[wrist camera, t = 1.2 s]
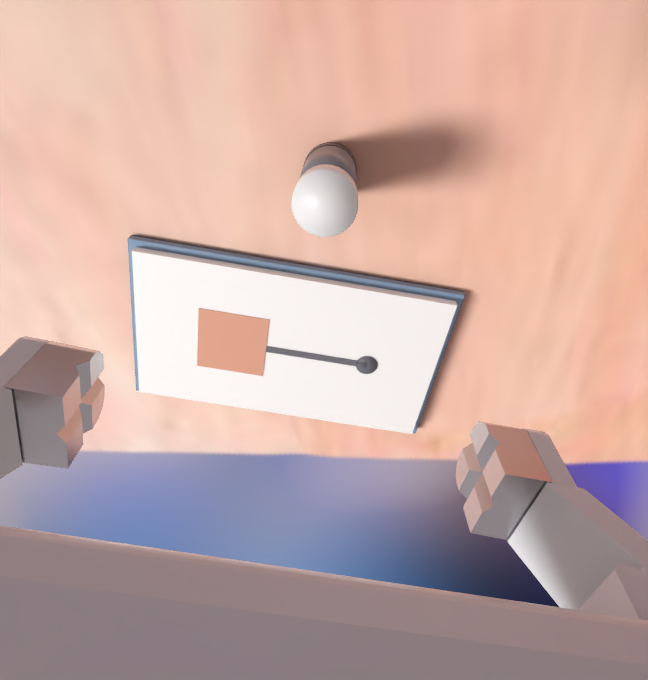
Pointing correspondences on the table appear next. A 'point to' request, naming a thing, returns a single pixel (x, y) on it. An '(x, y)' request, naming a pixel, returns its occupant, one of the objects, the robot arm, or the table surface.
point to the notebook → (285, 335)
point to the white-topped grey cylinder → (326, 191)
